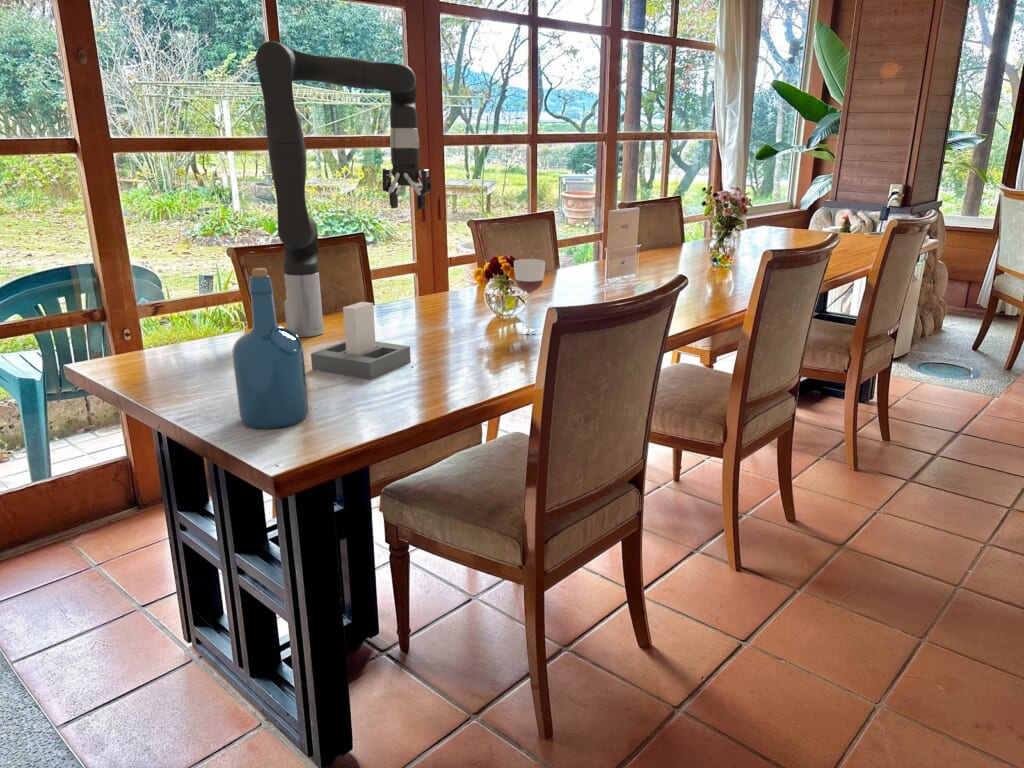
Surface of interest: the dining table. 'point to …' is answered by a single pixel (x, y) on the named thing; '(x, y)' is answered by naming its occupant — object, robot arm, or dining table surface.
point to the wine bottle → (269, 365)
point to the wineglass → (529, 279)
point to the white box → (359, 328)
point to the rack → (361, 360)
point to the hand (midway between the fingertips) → (407, 208)
